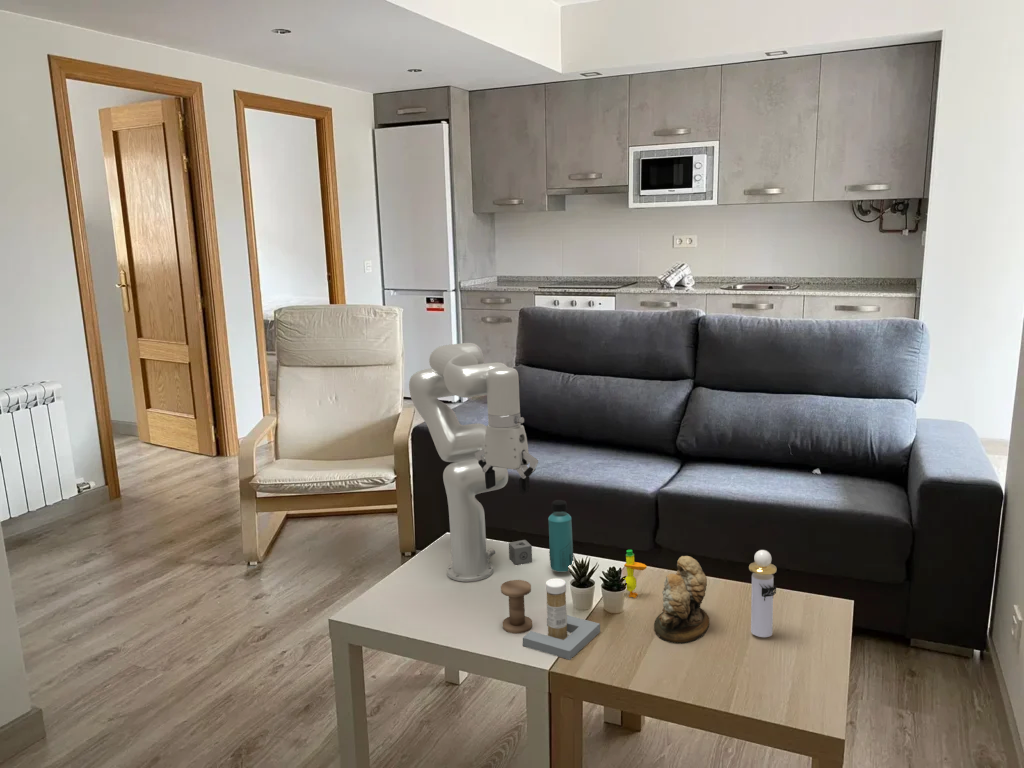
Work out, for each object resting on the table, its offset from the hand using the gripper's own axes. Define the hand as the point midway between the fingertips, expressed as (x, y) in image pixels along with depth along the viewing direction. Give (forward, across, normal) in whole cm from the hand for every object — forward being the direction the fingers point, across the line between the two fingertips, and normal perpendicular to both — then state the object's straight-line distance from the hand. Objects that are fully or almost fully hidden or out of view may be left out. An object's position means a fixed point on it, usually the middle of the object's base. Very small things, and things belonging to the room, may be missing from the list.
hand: (507, 490), depth 188 cm
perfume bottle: (+31, -56, -16) cm, 66 cm away
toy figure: (+31, -23, -20) cm, 43 cm away
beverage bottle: (+31, 0, -24) cm, 39 cm away
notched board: (+30, -18, +7) cm, 36 cm away
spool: (+30, -6, +7) cm, 32 cm away
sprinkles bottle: (+31, -17, +7) cm, 36 cm away
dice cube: (+31, +14, -25) cm, 42 cm away
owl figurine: (+31, -39, -12) cm, 51 cm away
